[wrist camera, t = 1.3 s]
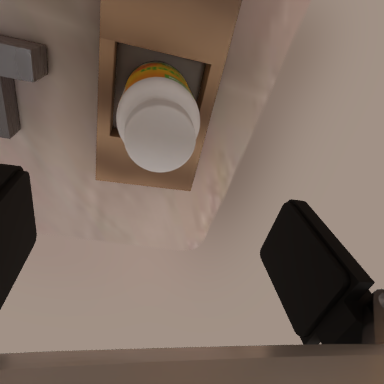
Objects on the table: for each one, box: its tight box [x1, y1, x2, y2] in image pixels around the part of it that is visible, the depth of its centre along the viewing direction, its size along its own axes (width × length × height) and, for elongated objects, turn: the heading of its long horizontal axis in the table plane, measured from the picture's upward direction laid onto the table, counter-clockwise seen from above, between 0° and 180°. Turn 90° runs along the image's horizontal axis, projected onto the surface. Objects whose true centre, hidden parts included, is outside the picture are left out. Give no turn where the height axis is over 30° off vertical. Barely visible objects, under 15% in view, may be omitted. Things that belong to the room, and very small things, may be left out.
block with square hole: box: [96, 0, 242, 191], centre depth 20 cm, size 22×9×2 cm, turn 167°
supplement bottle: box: [116, 61, 200, 172], centre depth 18 cm, size 5×5×10 cm
